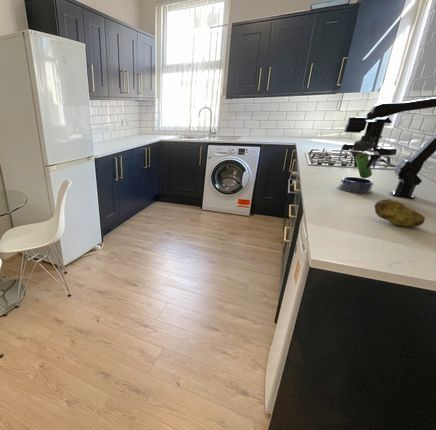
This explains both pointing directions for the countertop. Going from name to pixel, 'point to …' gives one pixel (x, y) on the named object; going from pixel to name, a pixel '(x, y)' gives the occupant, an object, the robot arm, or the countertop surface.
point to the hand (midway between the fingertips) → (361, 167)
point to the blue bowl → (356, 185)
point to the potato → (398, 213)
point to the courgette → (363, 165)
